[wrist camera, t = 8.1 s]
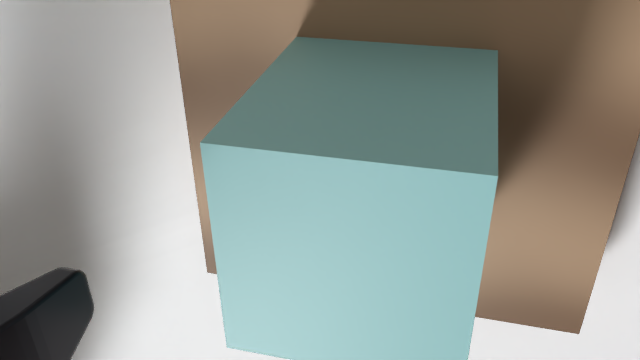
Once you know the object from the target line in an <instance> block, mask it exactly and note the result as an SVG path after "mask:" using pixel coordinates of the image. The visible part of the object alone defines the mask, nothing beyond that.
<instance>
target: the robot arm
mask: <svg viewBox="0 0 640 360" xmlns="http://www.w3.org/2000/svg"><path fill="white" fill-rule="evenodd" d="M93 311H94V303H93V299H92V296H91V292H90V289H89V285H88V281H87V278H86V275H85V274H84V273H83V271H81V270H77V269H71V268H65V267H61V268H57V269H55V270H53V271H51V272H49V273H47V274H44V275H42V276H40V277H38V278H36V279H34V280H32V281H30V282H28V283H26V284H24V285H22V286H20V287H17V288H15V289H13V290H11V291H9V292H7V293H5V294H3V295H1V296H0V360H71V358H72V356H73V354H74V352H75V350H76V348H77V346H78V344H79V342H80V340H81V338H82V336H83V334H84V332H85V330H86V328H87V326H88V324H89V322H90V320H91V318H92V315H93Z"/></svg>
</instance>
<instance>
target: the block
mask: <svg viewBox="0 0 640 360" xmlns="http://www.w3.org/2000/svg"><path fill="white" fill-rule="evenodd" d="M200 148H201V156H202V163H203V171H204V178H205V186H206V193H207V201H208V209H209V216H210V224H211V231H212V239H213V246H214V254H215V262H216V269H217V277H218V284H219V292H220V299H221V307H222V315H223V322H224V330H225V337H226V345H227V348H233V349H238V350H243V351H248V352H254V353H259V354H264V355H269V356H275V357H280V358H285V359H290V360H468V355H469V349H470V343H471V337H472V331H473V325H474V319H475V313H476V307H477V301H478V295H479V289H480V283H481V276H482V270H483V264H484V258H485V252H486V246H487V240H488V234H489V228H490V222H491V216H492V210H493V204H494V198H495V192H496V186H497V180H498V50H486V49H471V48H456V47H441V46H427V45H412V44H397V43H382V42H368V41H353V40H338V39H323V38H309V37H296V38H295V39H294V40H293V41H292V42H291V43H290V44H289V45H288V46H287V48H286V49H285V50H284V51H283V52H282V53H281V54H280V55H279V56H278V57H277V59H276V60H275V61H274V62H273V63H272V64H271V65H270V66H269V67H268V68H267V70H266V71H265V72H264V73H263V74H262V75H261V76H260V77H259V78H258V79H257V80H256V82H255V83H254V84H253V85H252V86H251V87H250V88H249V89H248V90H247V91H246V93H245V94H244V95H243V96H242V97H241V98H240V99H239V100H238V101H237V102H236V104H235V105H234V106H233V107H232V108H231V109H230V110H229V111H228V112H227V113H226V115H225V116H224V117H223V118H222V119H221V120H220V121H219V122H218V123H217V124H216V126H215V127H214V128H213V129H212V130H211V131H210V132H209V133H208V134H207V135H206V136H205V138H204V139H203V140H202V141H201V142H200Z"/></svg>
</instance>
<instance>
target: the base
mask: <svg viewBox="0 0 640 360" xmlns="http://www.w3.org/2000/svg"><path fill="white" fill-rule="evenodd" d="M170 5H171V13H172V20H173V27H174V34H175V42H176V49H177V56H178V63H179V71H180V78H181V85H182V92H183V100H184V107H185V114H186V121H187V129H188V136H189V143H190V150H191V158H192V165H193V172H194V179H195V187H196V194H197V201H198V208H199V216H200V223H201V230H202V237H203V244H204V252H205V259H206V266H207V272H208V273H214V274H217V269H216V262H215V254H214V246H213V239H212V231H211V224H210V216H209V209H208V201H207V193H206V186H205V178H204V171H203V163H202V156H201V148H200V142H201V141H202V140H203V139H204V138H205V136H206V135H207V134H208V133H209V132H210V131H211V130H212V129H213V128H214V127H215V126H216V124H217V123H218V122H219V121H220V120H221V119H222V118H223V117H224V116H225V115H226V113H227V112H228V111H229V110H230V109H231V108H232V107H233V106H234V105H235V104H236V102H237V101H238V100H239V99H240V98H241V97H242V96H243V95H244V94H245V93H246V91H247V90H248V89H249V88H250V87H251V86H252V85H253V84H254V83H255V82H256V80H257V79H258V78H259V77H260V76H261V75H262V74H263V73H264V72H265V71H266V70H267V68H268V67H269V66H270V65H271V64H272V63H273V62H274V61H275V60H276V59H277V57H278V56H279V55H280V54H281V53H282V52H283V51H284V50H285V49H286V48H287V46H288V45H289V44H290V43H291V42H292V41H293V40H294V39H295V38H296V37H309V38H323V39H338V40H353V41H368V42H382V43H397V44H412V45H427V46H441V47H456V48H471V49H486V50H498V180H497V186H496V192H495V198H494V204H493V210H492V216H491V222H490V228H489V234H488V240H487V246H486V252H485V258H484V264H483V270H482V276H481V283H480V289H479V295H478V301H477V307H476V313H475V317H479V318H486V319H492V320H498V321H504V322H510V323H516V324H522V325H528V326H534V327H540V328H546V329H552V330H558V331H564V332H570V333H576V334H579V332H580V329H581V326H582V322H583V319H584V316H585V312H586V309H587V306H588V302H589V299H590V296H591V293H592V289H593V286H594V283H595V279H596V276H597V273H598V269H599V266H600V263H601V259H602V256H603V253H604V249H605V246H606V243H607V239H608V236H609V233H610V230H611V226H612V223H613V220H614V216H615V213H616V210H617V206H618V203H619V200H620V196H621V193H622V190H623V186H624V183H625V180H626V177H627V173H628V170H629V167H630V163H631V160H632V157H633V153H634V150H635V147H636V143H637V140H638V137H639V133H640V0H170Z"/></svg>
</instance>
